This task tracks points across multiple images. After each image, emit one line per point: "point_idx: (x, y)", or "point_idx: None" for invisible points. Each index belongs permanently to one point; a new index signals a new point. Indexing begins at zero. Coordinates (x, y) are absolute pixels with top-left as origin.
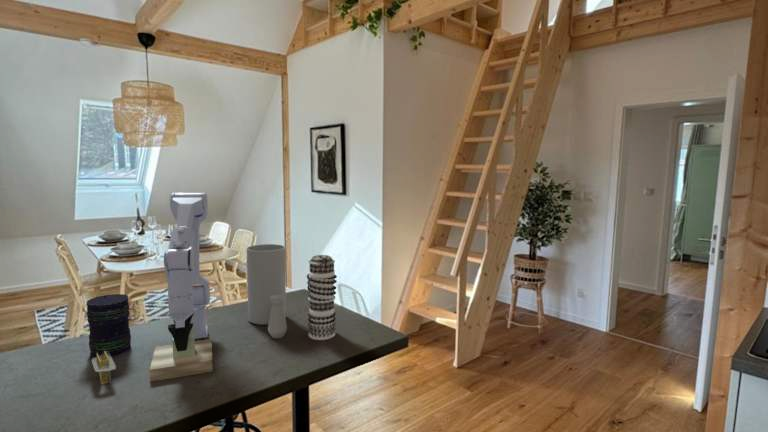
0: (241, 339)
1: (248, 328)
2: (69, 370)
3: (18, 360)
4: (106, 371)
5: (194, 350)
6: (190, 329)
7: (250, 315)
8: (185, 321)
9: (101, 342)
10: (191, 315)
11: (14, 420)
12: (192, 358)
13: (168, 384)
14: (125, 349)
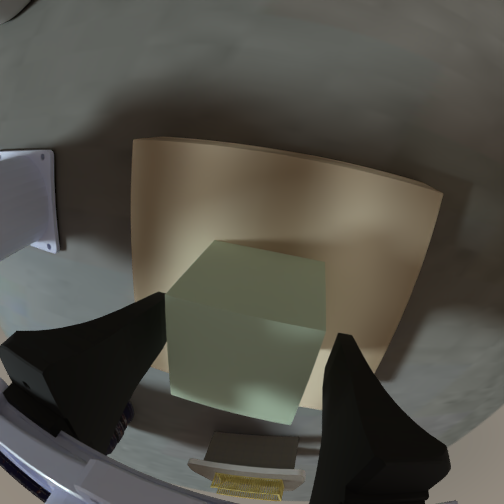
0: (123, 11)
1: (51, 6)
2: (176, 454)
3: None
4: (235, 444)
5: (308, 269)
6: (437, 444)
7: (3, 5)
8: (104, 374)
9: (115, 445)
10: (66, 370)
11: None
12: (357, 278)
13: (410, 342)
14: None
